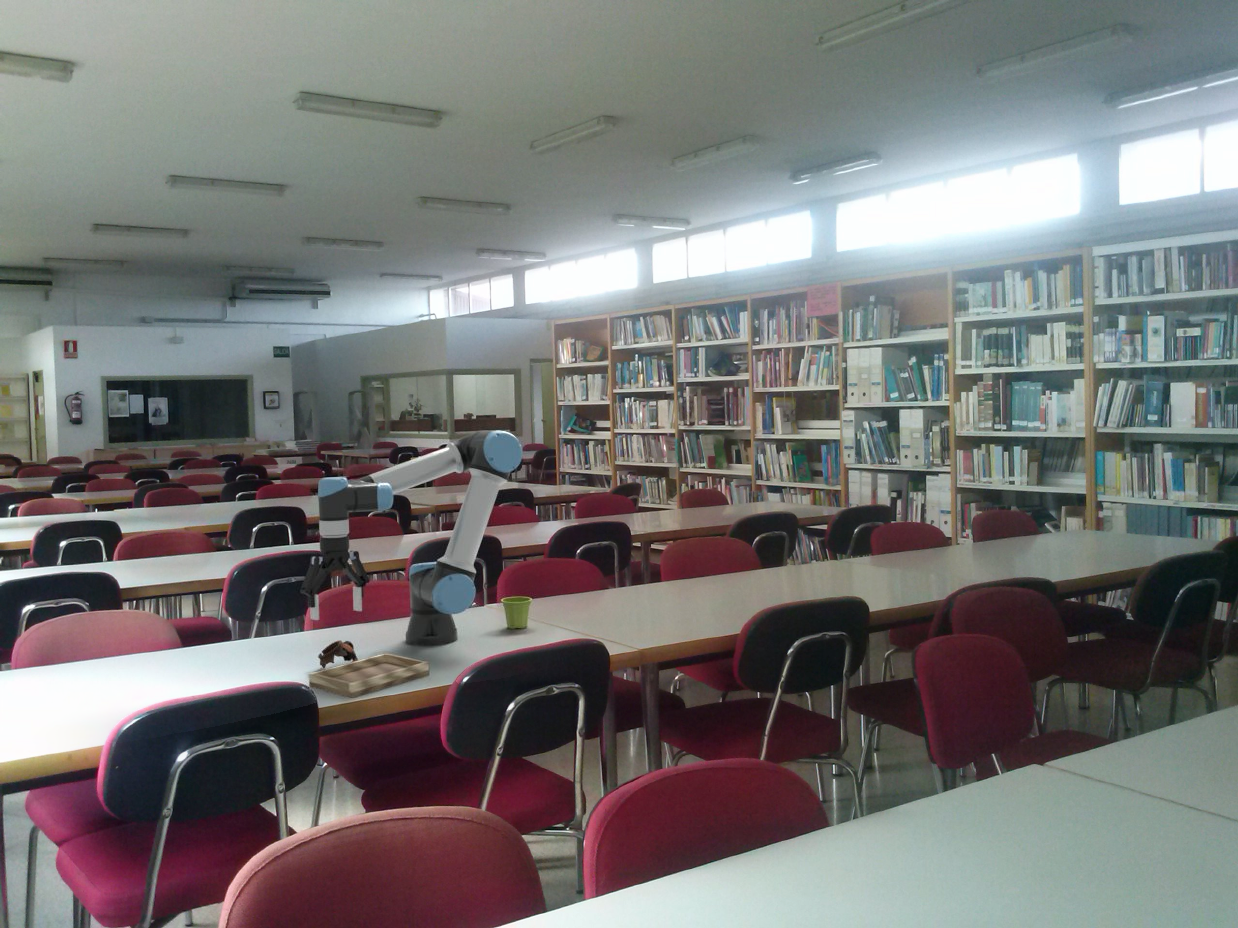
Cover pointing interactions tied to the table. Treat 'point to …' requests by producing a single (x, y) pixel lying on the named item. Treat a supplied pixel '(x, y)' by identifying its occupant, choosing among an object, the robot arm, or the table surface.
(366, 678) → the wooden tray
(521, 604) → the plant pot
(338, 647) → the dark brown arched piece
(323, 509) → the robot arm
